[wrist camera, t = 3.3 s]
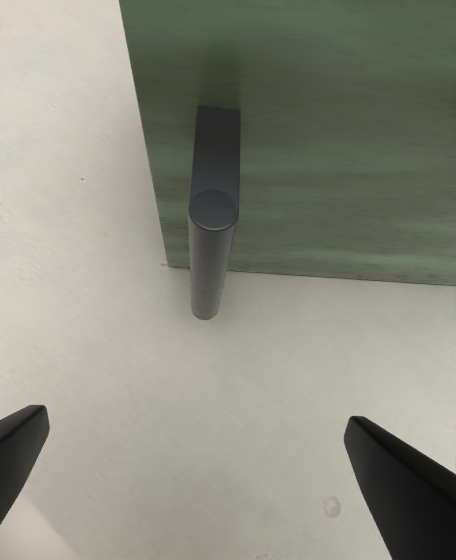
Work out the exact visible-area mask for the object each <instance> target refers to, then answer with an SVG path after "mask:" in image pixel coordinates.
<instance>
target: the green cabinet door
mask: <svg viewBox="0 0 456 560" xmlns="http://www.w3.org/2000/svg"><path fill="white" fill-rule="evenodd" d="M119 5H120V10H121V16H122V21H123V26H124V32H125V37H126V42H127V48H128V53H129V58H130V64H131V69H132V74H133V80H134V85H135V90H136V96H137V101H138V106H139V112H140V117H141V123H142V128H143V133H144V139H145V144H146V149H147V155H148V160H149V165H150V171H151V176H152V181H153V187H154V192H155V197H156V203H157V208H158V213H159V219H160V224H161V229H162V235H163V240H164V246H165V251H166V256H167V262H168V266H170V267H185V268H190V280H191V306H192V312H193V314H194V315H195V316H196V317H197V318H198V319H201V320H209V319H211V318H213V317H214V316H215V315H216V313H217V311H218V307H219V302H220V298H221V293H222V289H223V284H224V280H225V275H226V271H227V270H230V271H245V272H260V273H275V274H290V275H305V276H320V277H335V278H350V279H365V280H380V281H395V282H410V283H425V284H440V285H455V286H456V0H119Z"/></svg>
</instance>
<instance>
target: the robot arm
mask: <svg viewBox="0 0 456 560" xmlns="http://www.w3.org/2000/svg"><path fill="white" fill-rule="evenodd" d="M49 429H50V426H49V420H48V414H47V409H46V407H45V406H44V405H29V406H27V407H25V408H23V409H21V410H19V411H17V412H15V413H13V414H11V415H9V416H7V417H5V418H3V419H1V420H0V524H1V523H2V521H3V520H4V518H5V516H6V515H7V513H8V511H9V510H10V508H11V507H12V505H13V503H14V502H15V500H16V498H17V497H18V495H19V493H20V492H21V490H22V488H23V486H24V484H25V482H26V481H27V479H28V477H29V474H30V472H31V470H32V468H33V466H34V464H35V462H36V460H37V458H38V456H39V454H40V452H41V449H42V447H43V445H44V443H45V441H46V439H47V437H48V434H49ZM344 444H345V447H346V450H347V453H348V456H349V459H350V461H351V464H352V467H353V470H354V473H355V476H356V479H357V481H358V484H359V487H360V490H361V492H362V494H363V497H364V499H365V501H366V503H367V506H368V508H369V510H370V512H371V514H372V516H373V519H374V521H375V523H376V525H377V527H378V529H379V531H380V534H381V536H382V538H383V540H384V542H385V544H386V547H387V549H388V551H389V553H390V555H391V557H392V560H456V474H454V473H453V472H451V471H450V470H448V469H447V468H445V467H443V466H442V465H440V464H439V463H437V462H435V461H434V460H432V459H431V458H429V457H427V456H426V455H424V454H423V453H421V452H419V451H418V450H416V449H415V448H413V447H412V446H410V445H408V444H407V443H405V442H404V441H402V440H400V439H399V438H397V437H396V436H394V435H392V434H391V433H389V432H388V431H386V430H385V429H383V428H381V427H380V426H378V425H377V424H375V423H373V422H372V421H370V420H369V419H367V418H365V417H363V416H351V417H350V419H349V421H348V424H347V428H346V431H345V434H344Z"/></svg>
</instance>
